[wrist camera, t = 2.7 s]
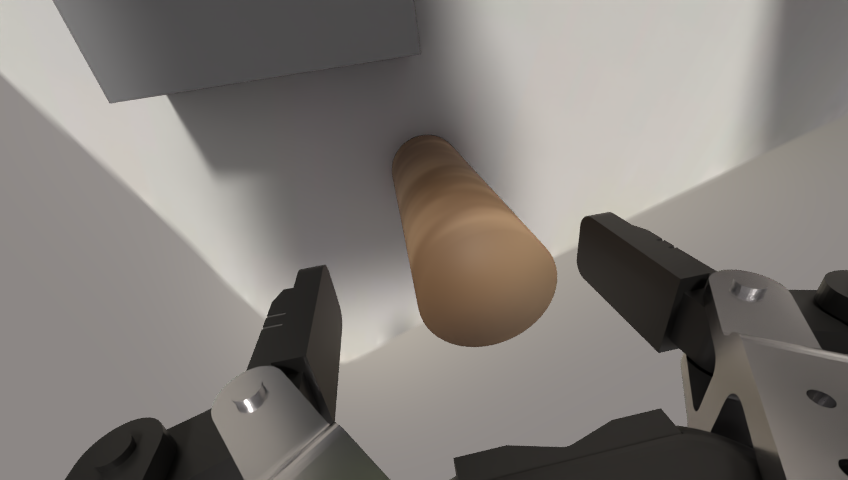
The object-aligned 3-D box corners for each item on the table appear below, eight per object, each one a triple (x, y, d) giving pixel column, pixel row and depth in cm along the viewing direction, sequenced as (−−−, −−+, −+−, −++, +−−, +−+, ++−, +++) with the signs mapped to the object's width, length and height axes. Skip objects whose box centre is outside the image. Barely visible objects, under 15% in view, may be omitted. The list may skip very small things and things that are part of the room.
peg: (456, 129, 19) (561, 217, 9) (462, 195, 21) (553, 331, 11) (385, 141, 19) (407, 246, 8) (398, 207, 21) (427, 358, 10)
